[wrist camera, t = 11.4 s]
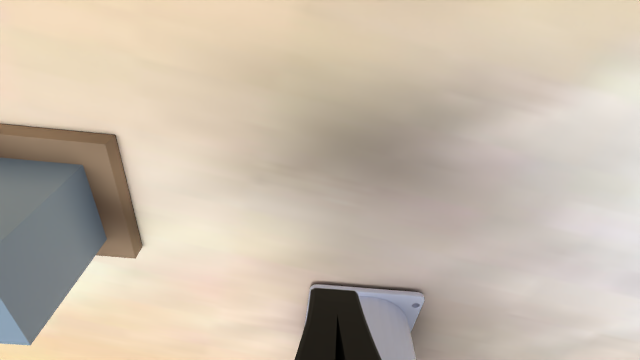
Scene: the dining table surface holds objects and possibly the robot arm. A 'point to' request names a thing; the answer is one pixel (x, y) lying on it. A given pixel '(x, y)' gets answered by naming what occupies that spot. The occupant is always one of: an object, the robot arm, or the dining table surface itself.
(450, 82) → the dining table surface
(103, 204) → the board
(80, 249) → the blue-grey block
